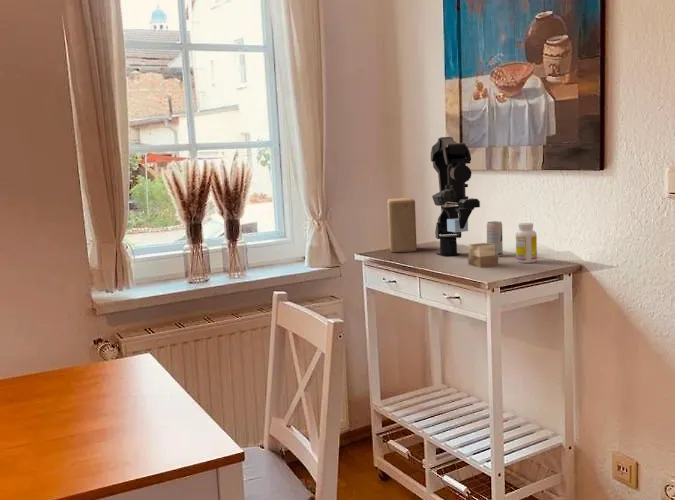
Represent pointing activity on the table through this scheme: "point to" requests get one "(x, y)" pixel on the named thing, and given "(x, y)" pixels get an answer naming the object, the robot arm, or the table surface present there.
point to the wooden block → (402, 225)
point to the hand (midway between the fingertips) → (457, 227)
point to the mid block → (481, 249)
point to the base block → (483, 261)
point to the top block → (455, 225)
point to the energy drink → (495, 236)
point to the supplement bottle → (526, 244)
